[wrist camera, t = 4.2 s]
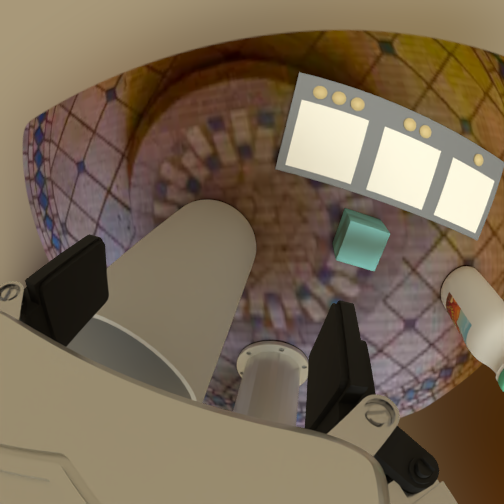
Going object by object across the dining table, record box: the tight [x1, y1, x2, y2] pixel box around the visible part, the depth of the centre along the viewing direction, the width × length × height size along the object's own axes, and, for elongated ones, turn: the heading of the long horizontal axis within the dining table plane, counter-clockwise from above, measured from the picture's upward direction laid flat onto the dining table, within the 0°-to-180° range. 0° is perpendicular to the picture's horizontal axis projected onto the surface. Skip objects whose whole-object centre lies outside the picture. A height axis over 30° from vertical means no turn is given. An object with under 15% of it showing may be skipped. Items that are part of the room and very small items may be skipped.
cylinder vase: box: [67, 200, 256, 403], centre depth 29 cm, size 12×12×25 cm
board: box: [275, 72, 504, 240], centre depth 30 cm, size 12×30×2 cm, turn 77°
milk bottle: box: [441, 266, 504, 392], centre depth 27 cm, size 8×8×20 cm
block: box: [333, 208, 390, 271], centre depth 34 cm, size 5×5×5 cm
